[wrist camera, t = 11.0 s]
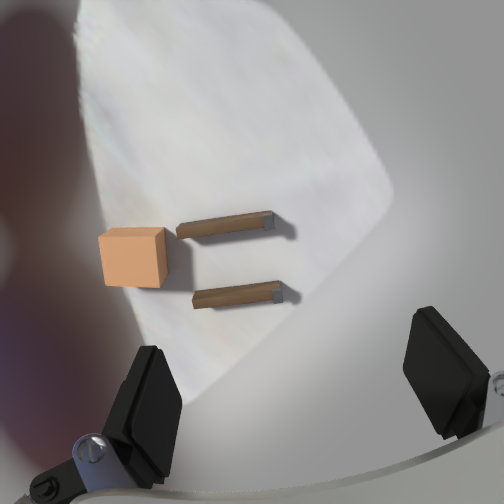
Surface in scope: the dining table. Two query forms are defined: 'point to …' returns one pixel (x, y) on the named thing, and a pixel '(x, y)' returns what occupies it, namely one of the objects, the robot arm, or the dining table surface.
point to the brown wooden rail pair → (236, 292)
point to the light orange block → (134, 256)
